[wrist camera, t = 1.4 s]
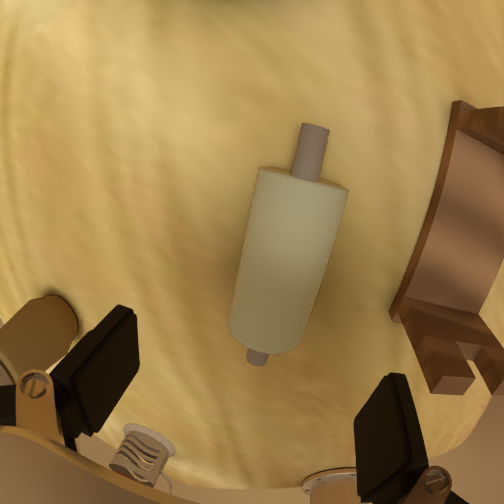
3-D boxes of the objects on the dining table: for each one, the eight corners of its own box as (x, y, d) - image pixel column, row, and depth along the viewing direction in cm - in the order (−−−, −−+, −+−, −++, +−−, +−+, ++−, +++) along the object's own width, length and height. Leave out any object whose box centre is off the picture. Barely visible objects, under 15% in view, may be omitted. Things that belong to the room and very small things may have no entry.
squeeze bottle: (51, 331, 34) (-26, 406, 17) (36, 281, 31) (-59, 353, 14) (91, 346, 33) (10, 440, 16) (77, 292, 30) (-30, 385, 13)
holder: (460, 327, 23) (505, 403, 13) (388, 312, 24) (422, 404, 14) (523, 144, 16) (607, 161, 6) (452, 101, 17) (540, 87, 6)
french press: (121, 415, 38) (51, 531, 15) (188, 444, 37) (134, 575, 14) (125, 441, 42) (70, 540, 18) (184, 465, 41) (139, 574, 18)
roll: (291, 345, 27) (287, 391, 21) (230, 330, 27) (214, 373, 22) (352, 139, 20) (371, 138, 14) (274, 120, 20) (264, 111, 15)
